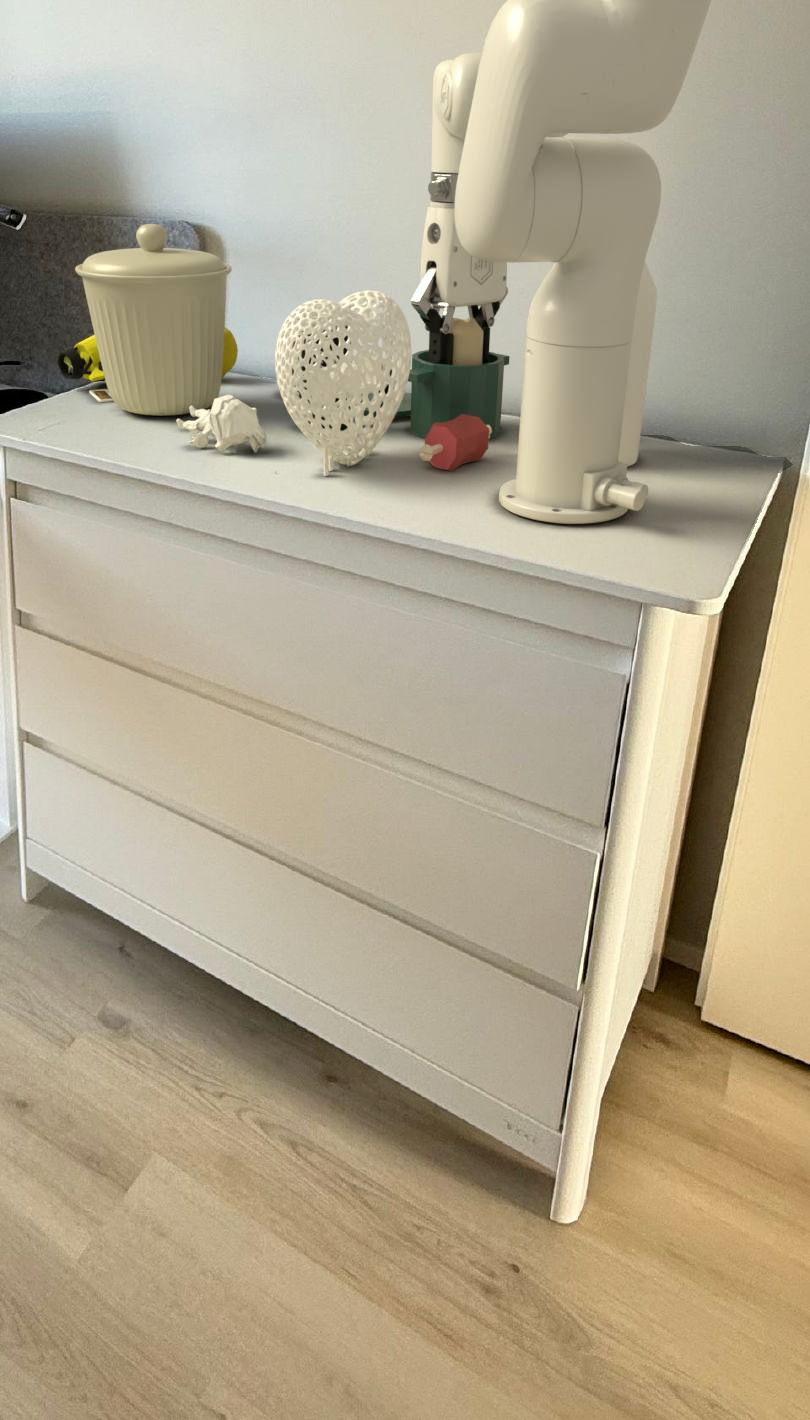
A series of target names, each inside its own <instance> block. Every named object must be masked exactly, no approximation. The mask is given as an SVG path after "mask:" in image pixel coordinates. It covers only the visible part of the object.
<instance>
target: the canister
mask: <svg viewBox="0 0 810 1420" xmlns="http://www.w3.org/2000/svg"><path fill="white" fill-rule="evenodd" d="M135 234H136V235H135V236H136V237H135V238H136V241H137V244H138V245H139V247H135V248H133V247H132V248H119V249H113V250H106V251H100V252H97V253H93V254H92V255H89V256H87V258H85V260H84V261H83V263H80V264H78V265H76V266H75V268H74V271H75V272H76V274H77V275H78V276H80V277H81V280H82V283H83V288H84V293H85V297H86V302H87V307H88V311H89V315H90V320H91V324H92V329H93V335H95V339H96V343H97V347H98V352H99V356H100V360H101V364H102V368H103V372H104V376H105V380H106V381H105V384H106V389H108V391H109V393H110V395H111V397H112V399H113V401H112V402H114V403H115V404H116V406H117V407H119V408H120V409H122V410H124V411H126V412H129V413H133V414H138V415H144V416H159V417H166V416H180V415H181V416H182V415H188V414H191V413H190V409H189V407H190V406H194V407H195V408H196V409H197V410H199V409H205V410H207V409H208V408H210V407H212V406H213V402H214V399H216V398H219V394H220V391H221V385H222V379H221V377H222V363H223V348H224V327H226V326H225V322H226V300H227V276H228V275H229V274H231V273H232V270H233V269H232V267H233V266H231V265H230V264H229V263H226V262H224V261H223V260H222V259H221V258H220V257H218V256H217V255H215V254H213V253H210V252H206V251H201V250H196V249H187V248H176V247H175V248H173V247H166V245H167V243H168V233H167V231H166V230H165V229H164V227H163V226H161V225H160V224H157V223H146V224H145V223H144V224H142V225H141V226H139V227H138V229H137V230H136V233H135Z"/></svg>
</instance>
